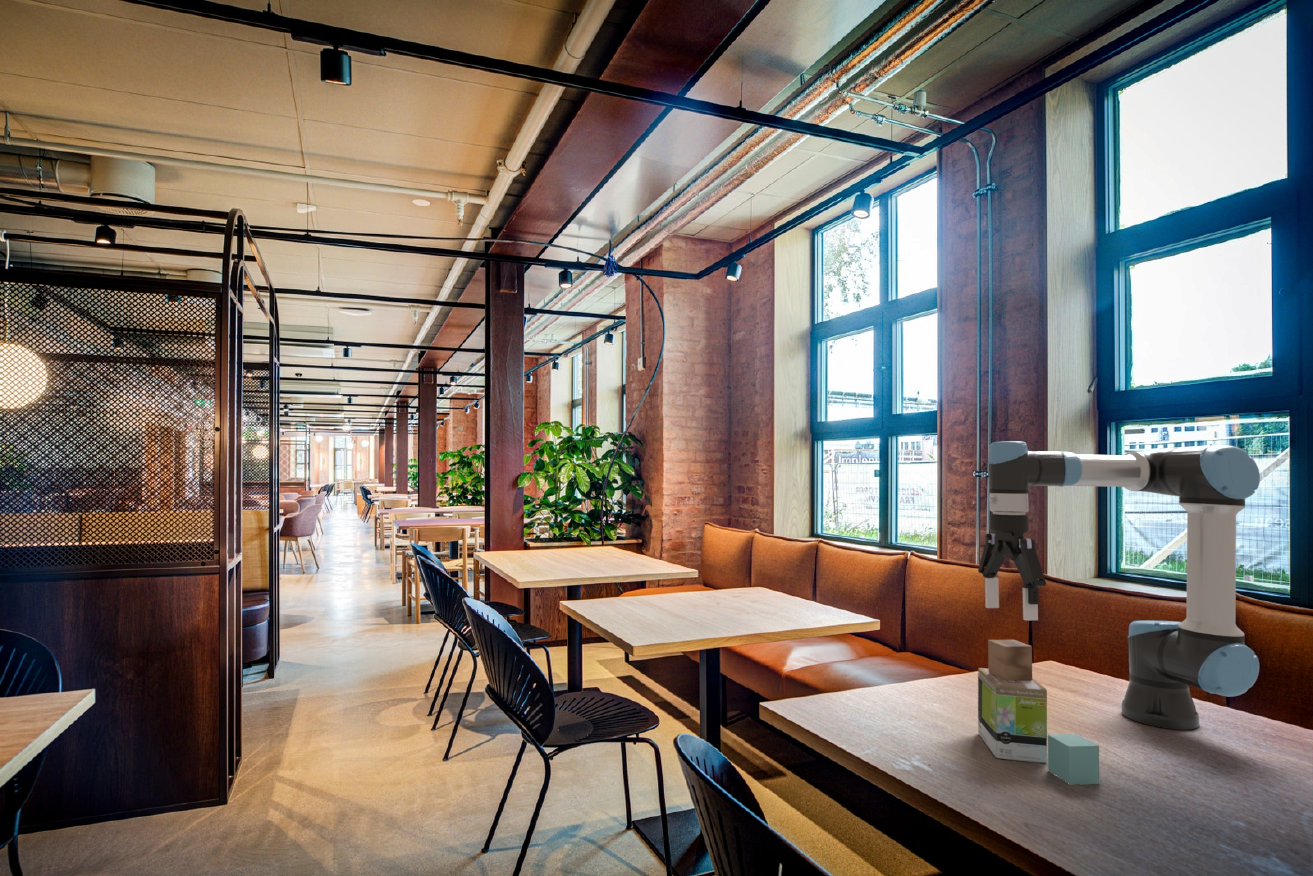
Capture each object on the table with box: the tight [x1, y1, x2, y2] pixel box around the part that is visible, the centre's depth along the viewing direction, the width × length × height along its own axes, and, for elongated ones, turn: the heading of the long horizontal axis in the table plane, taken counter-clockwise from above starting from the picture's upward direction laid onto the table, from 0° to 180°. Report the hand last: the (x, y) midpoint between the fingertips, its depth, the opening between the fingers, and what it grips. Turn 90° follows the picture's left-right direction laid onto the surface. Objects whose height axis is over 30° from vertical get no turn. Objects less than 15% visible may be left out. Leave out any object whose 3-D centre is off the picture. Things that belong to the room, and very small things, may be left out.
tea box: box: [977, 667, 1048, 764], centre depth 150 cm, size 15×10×15 cm
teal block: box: [1047, 733, 1101, 786], centre depth 135 cm, size 6×6×7 cm
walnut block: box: [987, 639, 1033, 681], centre depth 150 cm, size 6×6×7 cm
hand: (1010, 613), depth 151 cm, fingers open, 13 cm apart
